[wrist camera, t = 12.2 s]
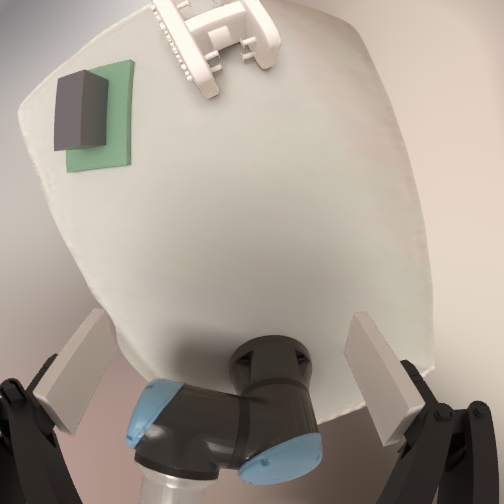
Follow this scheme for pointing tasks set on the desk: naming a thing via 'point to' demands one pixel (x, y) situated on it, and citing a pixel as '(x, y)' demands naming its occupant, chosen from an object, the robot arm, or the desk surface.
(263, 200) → the desk surface
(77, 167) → the board
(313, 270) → the desk surface
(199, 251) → the desk surface
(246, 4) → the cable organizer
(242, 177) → the desk surface
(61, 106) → the block
